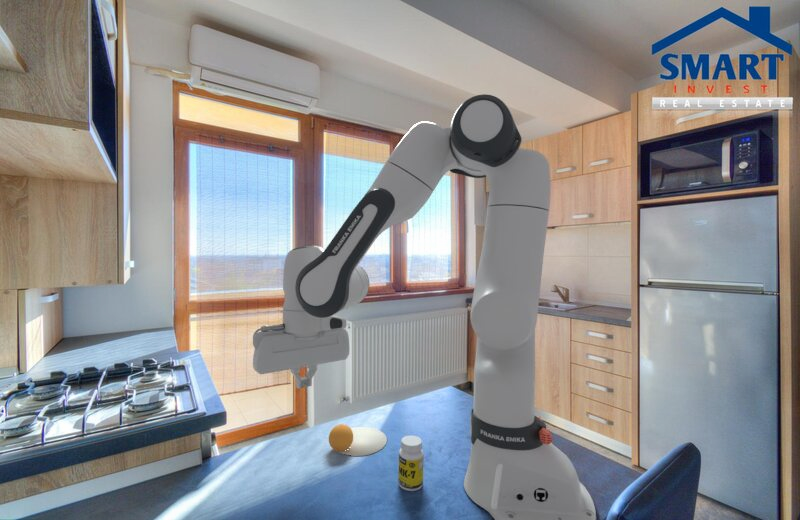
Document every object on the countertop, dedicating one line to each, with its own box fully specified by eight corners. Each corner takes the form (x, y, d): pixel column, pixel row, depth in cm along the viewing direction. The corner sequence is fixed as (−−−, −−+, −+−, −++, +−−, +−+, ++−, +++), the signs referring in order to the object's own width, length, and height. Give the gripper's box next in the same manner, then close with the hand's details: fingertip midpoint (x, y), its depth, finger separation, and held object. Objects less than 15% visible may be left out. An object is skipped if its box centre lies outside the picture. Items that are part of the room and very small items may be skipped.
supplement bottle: (393, 487, 66) (394, 442, 66) (405, 473, 70) (405, 431, 70) (416, 495, 64) (417, 449, 64) (427, 481, 68) (427, 437, 68)
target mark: (393, 431, 87) (393, 430, 87) (376, 460, 75) (376, 459, 75) (345, 424, 90) (345, 424, 90) (321, 451, 78) (321, 450, 78)
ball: (326, 429, 76) (322, 450, 77) (348, 439, 75) (344, 461, 76) (338, 415, 81) (334, 436, 82) (359, 424, 80) (355, 445, 81)
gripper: (257, 329, 66) (256, 402, 65) (353, 319, 78) (352, 381, 78) (249, 324, 71) (248, 392, 71) (340, 316, 83) (339, 374, 83)
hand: (303, 386), depth 74 cm, fingers closed
